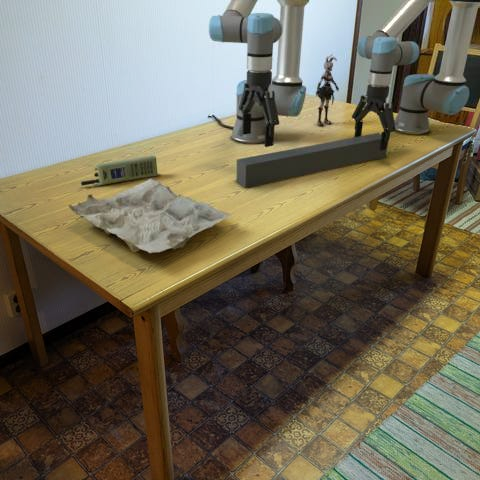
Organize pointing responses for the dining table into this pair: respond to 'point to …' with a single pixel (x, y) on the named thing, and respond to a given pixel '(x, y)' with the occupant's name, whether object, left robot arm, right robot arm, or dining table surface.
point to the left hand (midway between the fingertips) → (257, 139)
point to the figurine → (326, 90)
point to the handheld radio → (124, 170)
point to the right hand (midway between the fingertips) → (369, 144)
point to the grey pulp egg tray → (149, 216)
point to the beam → (308, 160)
